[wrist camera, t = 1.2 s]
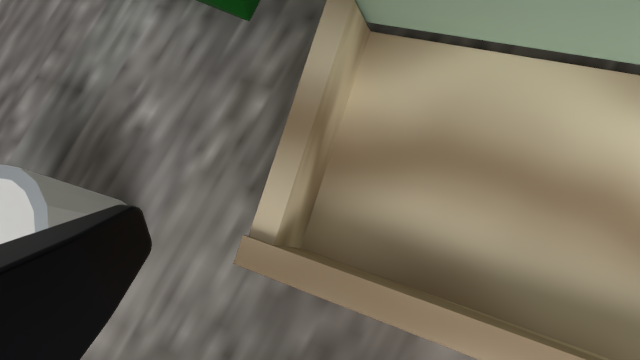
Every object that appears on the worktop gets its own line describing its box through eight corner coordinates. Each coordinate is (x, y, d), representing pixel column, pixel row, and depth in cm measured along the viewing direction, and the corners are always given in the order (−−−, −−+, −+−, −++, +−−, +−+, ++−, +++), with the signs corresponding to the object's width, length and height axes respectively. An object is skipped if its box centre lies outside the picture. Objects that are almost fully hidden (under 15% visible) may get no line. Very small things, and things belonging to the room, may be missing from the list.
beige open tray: (814, 464, 17) (938, 539, 12) (282, 265, 24) (233, 263, 20) (893, 134, 18) (1038, 84, 13) (355, 41, 25) (324, -11, 21)
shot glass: (83, 173, 30) (-31, 145, 23) (170, 209, 27) (69, 190, 21) (41, 280, 29) (-87, 282, 23) (125, 327, 27) (7, 345, 20)
